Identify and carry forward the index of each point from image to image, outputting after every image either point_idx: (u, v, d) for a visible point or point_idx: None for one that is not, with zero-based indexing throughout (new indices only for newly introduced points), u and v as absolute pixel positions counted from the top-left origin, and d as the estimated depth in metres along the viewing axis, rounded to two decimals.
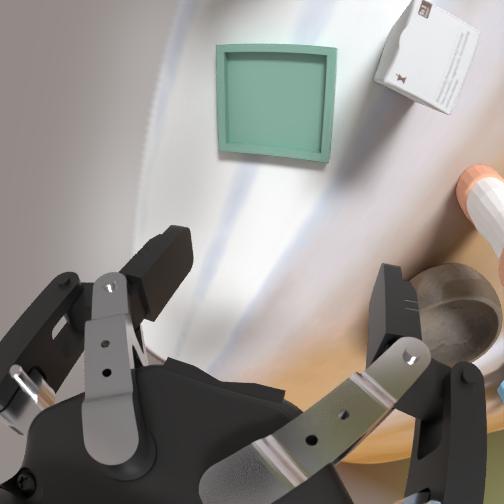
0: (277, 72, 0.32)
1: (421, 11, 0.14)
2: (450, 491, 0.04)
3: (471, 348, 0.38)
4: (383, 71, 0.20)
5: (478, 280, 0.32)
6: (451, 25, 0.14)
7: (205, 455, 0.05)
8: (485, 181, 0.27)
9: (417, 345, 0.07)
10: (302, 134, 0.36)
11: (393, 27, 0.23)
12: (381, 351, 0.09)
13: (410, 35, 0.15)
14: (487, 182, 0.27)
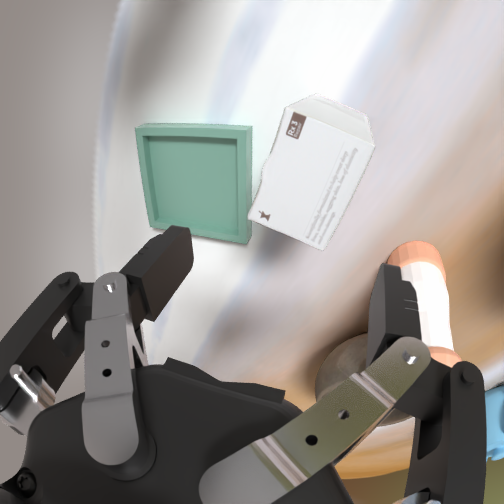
0: (193, 154, 0.35)
1: (290, 130, 0.17)
2: (450, 491, 0.04)
3: None
4: None
5: None
6: (330, 143, 0.16)
7: (205, 455, 0.05)
8: (411, 268, 0.30)
9: (417, 345, 0.07)
10: (222, 215, 0.38)
11: None
12: (381, 351, 0.09)
13: (274, 164, 0.18)
14: (412, 270, 0.30)
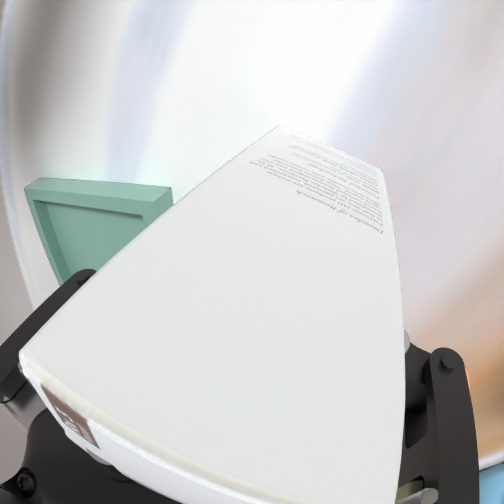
0: (97, 228, 0.22)
1: (67, 422, 0.04)
2: (444, 477, 0.04)
3: None
4: None
5: None
6: (210, 501, 0.03)
7: None
8: None
9: None
10: None
11: None
12: None
13: (85, 450, 0.05)
14: None
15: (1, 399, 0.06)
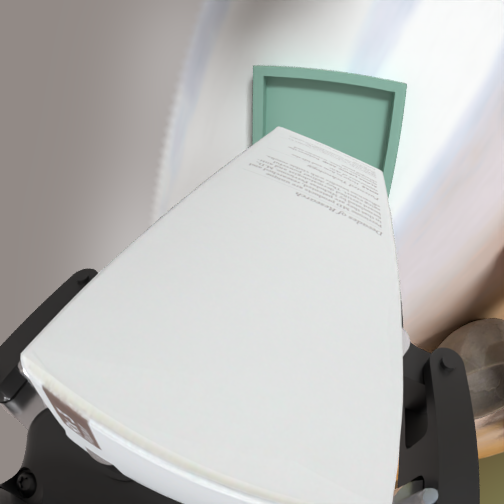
0: (330, 106, 0.26)
1: (68, 423, 0.04)
2: (444, 477, 0.04)
3: (498, 396, 0.32)
4: None
5: None
6: (209, 501, 0.03)
7: None
8: None
9: None
10: None
11: None
12: None
13: None
14: None
15: (1, 399, 0.06)
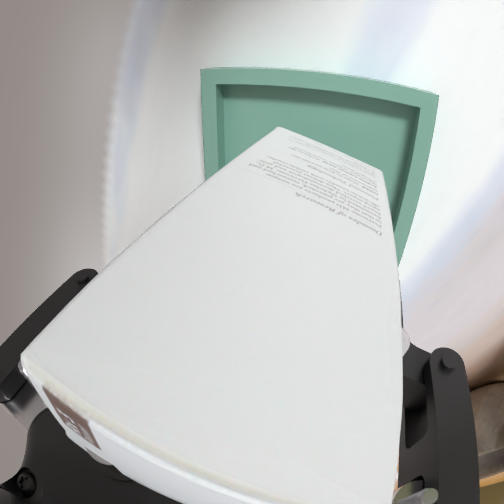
0: (318, 127, 0.18)
1: (68, 424, 0.04)
2: (444, 477, 0.04)
3: None
4: None
5: None
6: (209, 501, 0.03)
7: None
8: None
9: None
10: None
11: None
12: None
13: None
14: None
15: (1, 399, 0.06)
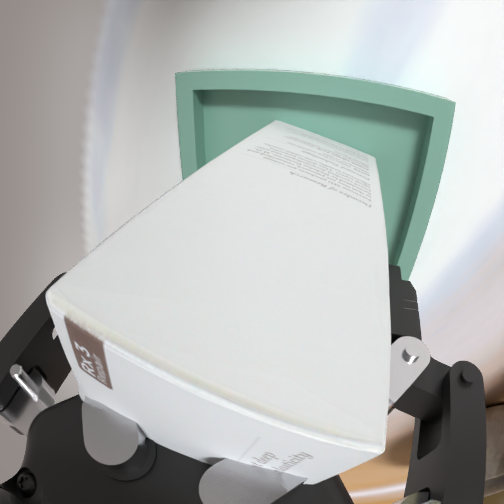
0: None
1: (83, 363, 0.04)
2: (450, 491, 0.04)
3: None
4: None
5: None
6: (211, 430, 0.04)
7: None
8: None
9: (416, 345, 0.07)
10: None
11: None
12: None
13: None
14: None
15: None
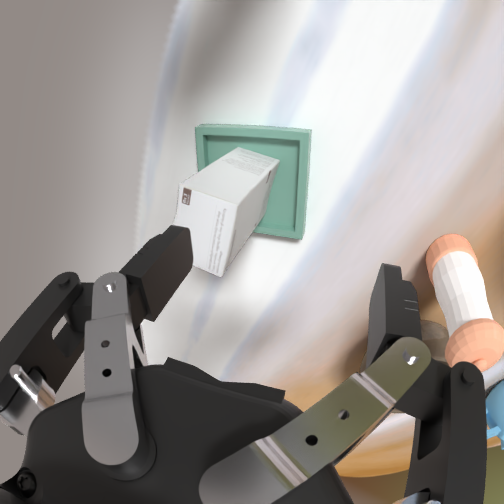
0: None
1: (184, 199, 0.26)
2: (450, 491, 0.04)
3: None
4: None
5: (441, 340, 0.37)
6: (208, 206, 0.26)
7: (205, 455, 0.05)
8: (451, 256, 0.32)
9: (417, 345, 0.07)
10: (278, 212, 0.41)
11: None
12: (381, 351, 0.09)
13: (179, 222, 0.28)
14: (452, 258, 0.32)
15: None
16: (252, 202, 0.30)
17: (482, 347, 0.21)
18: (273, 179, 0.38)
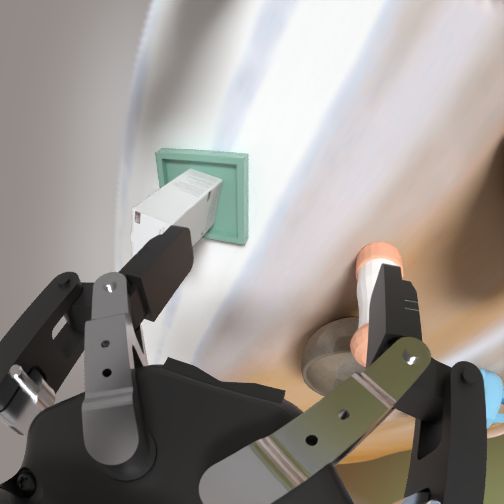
0: None
1: (136, 219, 0.34)
2: (450, 491, 0.04)
3: None
4: None
5: None
6: (152, 225, 0.34)
7: (205, 455, 0.05)
8: (372, 263, 0.41)
9: (417, 345, 0.07)
10: (225, 221, 0.49)
11: None
12: (381, 351, 0.09)
13: (134, 235, 0.36)
14: (373, 265, 0.40)
15: None
16: (191, 219, 0.38)
17: None
18: (218, 195, 0.45)
